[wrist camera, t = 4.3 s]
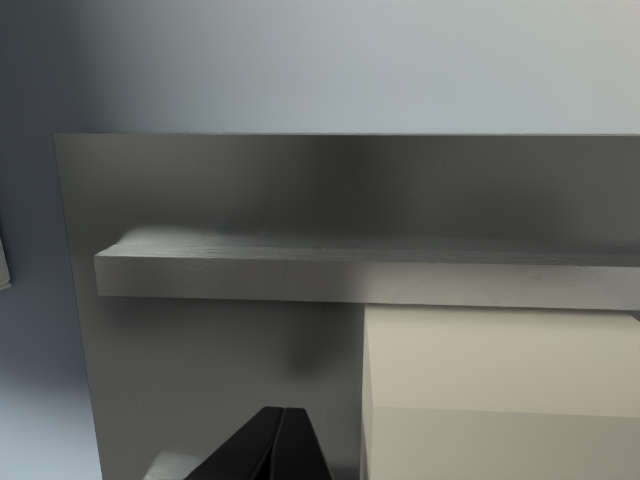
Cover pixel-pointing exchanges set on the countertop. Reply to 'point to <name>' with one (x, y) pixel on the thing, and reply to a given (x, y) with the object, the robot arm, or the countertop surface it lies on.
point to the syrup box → (3, 270)
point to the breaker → (499, 393)
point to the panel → (314, 265)
